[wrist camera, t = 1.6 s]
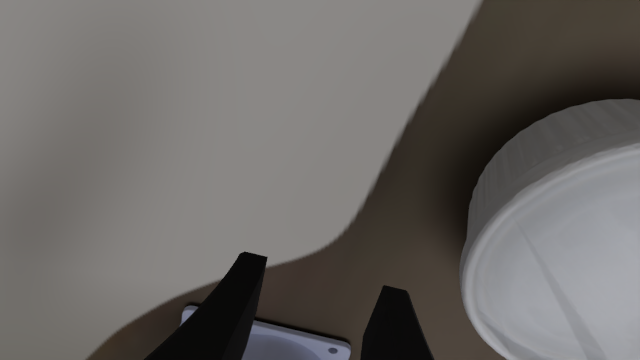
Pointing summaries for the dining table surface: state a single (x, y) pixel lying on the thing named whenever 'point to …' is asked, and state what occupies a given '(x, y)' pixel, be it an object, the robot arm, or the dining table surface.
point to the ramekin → (559, 238)
